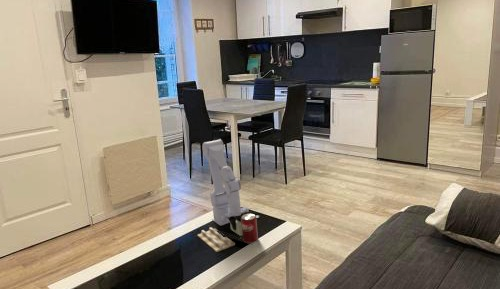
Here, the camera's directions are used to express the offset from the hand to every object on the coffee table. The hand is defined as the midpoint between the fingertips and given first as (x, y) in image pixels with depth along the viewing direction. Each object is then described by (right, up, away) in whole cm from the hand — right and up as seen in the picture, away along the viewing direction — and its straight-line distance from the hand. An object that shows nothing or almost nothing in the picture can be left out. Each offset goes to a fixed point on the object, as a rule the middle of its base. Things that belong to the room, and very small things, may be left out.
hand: (236, 228), depth 183 cm
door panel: (0, -2, 0) cm, 2 cm away
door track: (-10, -4, -6) cm, 12 cm away
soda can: (+7, -4, -8) cm, 11 cm away
